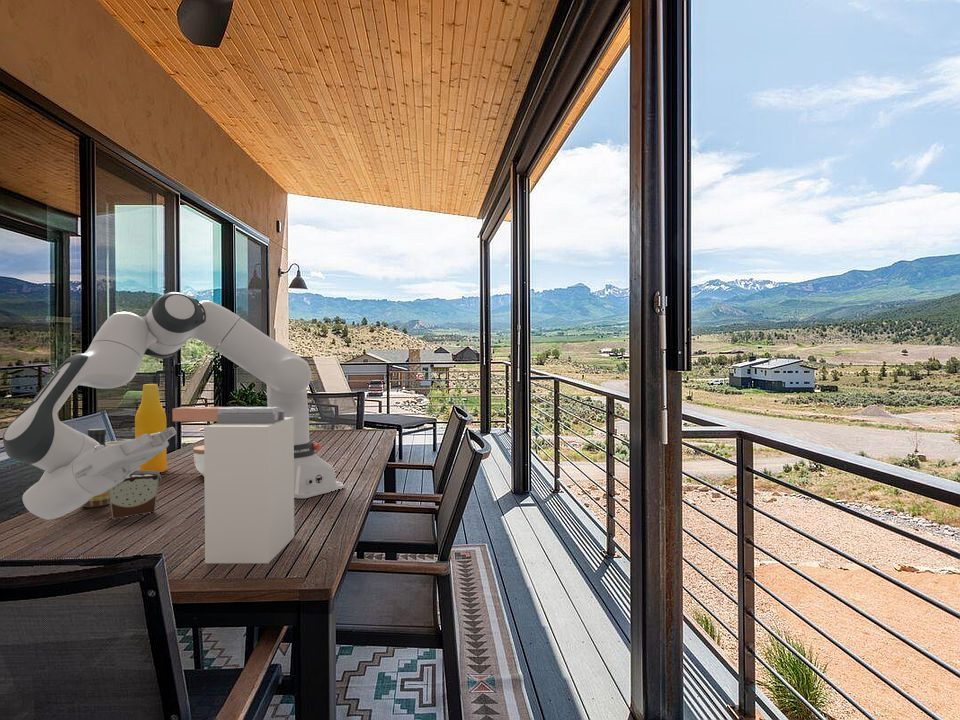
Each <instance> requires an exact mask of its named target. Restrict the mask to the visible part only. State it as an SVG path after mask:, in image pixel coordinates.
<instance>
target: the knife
mask: <svg viewBox="0 0 960 720" xmlns="http://www.w3.org/2000/svg"><path fill="white" fill-rule="evenodd" d="M171 409H172V422H217V414H275V420H278V419H280V407H268V406H179V407H175V408H171Z"/></svg>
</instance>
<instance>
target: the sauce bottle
mask: <svg viewBox="0 0 960 720" xmlns="http://www.w3.org/2000/svg"><path fill="white" fill-rule="evenodd" d="M106 434H107V429H106V428H90V429H87V436H89V437H91V438H93V439H94V440H96V441H97V442H99V443H100V445H105V443H106ZM108 504H110V501H109V493H108V491H106V492H104V493H103V494H100V495H98V496H94V497H92V498H91V499H90V500H89V501H88V502H87V503H85V504H84V505H82V506H81V507H83V508H89V509H90V508H91V509H92V508H98V507H103V506H106V505H108Z"/></svg>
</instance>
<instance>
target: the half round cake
mask: <svg viewBox="0 0 960 720" xmlns="http://www.w3.org/2000/svg"><path fill="white" fill-rule="evenodd" d="M159 480H160V481H161V480H162V477H161V474H160V473H159V472H158V471H137V472H135V473H133V474H131V475H129V476H128V477H127V478H126V479H125V480H124V481H123V482H121V483H120V484H118V485H116V486H114V487H113V488H111V489H109V490H108V493H109V505H110V516H111V520H112V519H114V520H117V519H116V518H120V519H122V518H121V517H126V516H131V517H133V516H132V515H137V516H139V515H138V514H143V515H146V514H145V513H149V514H152V513H151V512H154V513H156V508H157V499H158V489H159ZM126 518H127V517H126Z"/></svg>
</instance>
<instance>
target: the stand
mask: <svg viewBox="0 0 960 720" xmlns="http://www.w3.org/2000/svg"><path fill="white" fill-rule="evenodd" d="M203 445H204V476H203V478H204V479H203V480H204V482H203V483H204V559H205V560H204V564H270V562H271V561H272V560H273V559H274V558H275V557H276V556H277V555H278V554H279V553H280V552H281V551H282V550H283V549H284V548H286V546H288V544H289V543H290V542H291V541H292V540H293V539H294V538H295V498H294V417H284V411H280V419H278V420H275V414H217V421H216V423H213V424H208V425H205V426H203Z"/></svg>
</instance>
